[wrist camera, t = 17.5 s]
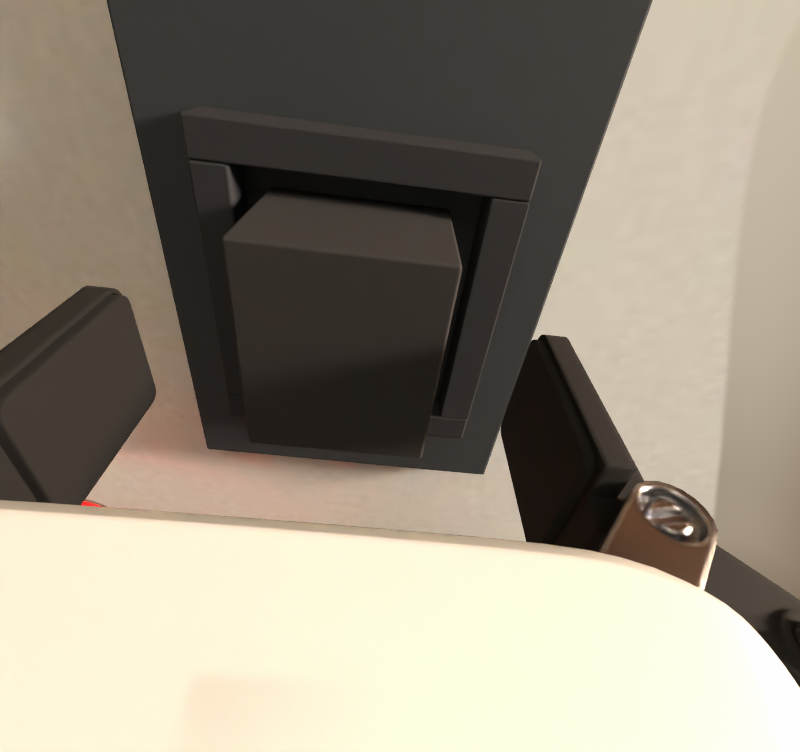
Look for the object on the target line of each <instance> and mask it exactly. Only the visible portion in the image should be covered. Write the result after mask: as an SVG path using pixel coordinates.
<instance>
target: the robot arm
mask: <svg viewBox="0 0 800 752" xmlns="http://www.w3.org/2000/svg"><path fill="white" fill-rule="evenodd" d="M155 395H156V387H155V384H154V380H153V377H152V374H151V370H150V367H149V364H148V361H147V357H146V354H145V351H144V347H143V344H142V341H141V337H140V334H139V331H138V327H137V324H136V321H135V318H134V314H133V311H132V308H131V304H130V302H129V300H128V298H127V297H125V296H122V294H121V293H120V292H119V290H117V289H114V288H105V287H96V286H85V287H83V288H82V289H80V290H79V291H78V292H76V293H75V294H74V295H73V296H71V297H70V298H69V299H67V300H66V301H65V302H63V303H62V304H61V305H59V306H58V307H57V308H55V309H54V310H53V311H52V312H50V313H49V314H48V315H46V316H45V317H44V318H42V319H41V320H40V321H38V322H37V323H36V324H34V325H33V326H32V327H31V328H29V329H28V330H27V331H25V332H24V333H23V334H21V335H20V336H19V337H17V338H16V339H15V340H13V341H12V342H11V343H9V344H8V345H7V346H6V347H4V348H3V349H2V350H0V752H800V600H799V599H798V598H796V597H795V596H793V595H791V594H790V593H789V592H787V591H786V590H784V589H782V588H781V587H779V586H778V585H776V584H775V583H773V582H772V581H770V580H769V579H767V578H766V577H764V576H763V575H761V574H760V573H758V572H757V571H755V570H754V569H752V568H751V567H749V566H748V565H746V564H745V563H743V562H742V561H740V560H739V559H737V558H735V557H734V556H732V555H731V554H729V553H728V552H726V551H725V550H723V549H722V548H720V547H719V546H717V545H716V544H717V541H718V530H717V527H716V525H715V522H714V520H713V518H712V517H711V516H710V514H709V513H708V511H707V510H706V509H705V508H704V507H703V506H702V505H701V504H700V503H699V502H698V501H697V500H696V499H695V498H693V497H692V496H690V495H689V494H687V493H686V492H684V491H683V490H681V489H679V488H676V487H674V486H672V485H670V484H666V483H662V482H659V481H645V482H644V480H643V478H642V476H641V474H640V472H639V470H638V468H637V467H636V465H635V463H634V461H633V459H632V457H631V455H630V454H629V452H628V450H627V448H626V446H625V444H624V442H623V440H622V439H621V437H620V435H619V433H618V431H617V429H616V427H615V426H614V424H613V422H612V420H611V418H610V416H609V414H608V412H607V411H606V409H605V407H604V405H603V403H602V401H601V399H600V398H599V396H598V394H597V392H596V390H595V388H594V386H593V384H592V383H591V381H590V379H589V377H588V375H587V373H586V371H585V370H584V368H583V366H582V364H581V362H580V360H579V358H578V356H577V355H576V353H575V351H574V349H573V347H572V345H571V343H570V342H569V340H568V339H567V338H566V337H560V336H550V335H541V336H540V337H539V338H538V340H532V341H531V342H530V345H529V347H528V350H527V353H526V355H525V358H524V361H523V364H522V366H521V369H520V372H519V375H518V378H517V380H516V383H515V386H514V389H513V391H512V394H511V397H510V400H509V403H508V405H507V408H506V411H505V414H504V416H503V419H502V423H501V436H502V440H503V444H504V449H505V453H506V457H507V461H508V466H509V470H510V474H511V478H512V482H513V487H514V491H515V495H516V499H517V504H518V508H519V512H520V516H521V521H522V525H523V529H524V533H525V538H526V542H522V541H512V540H502V539H492V538H482V537H472V536H461V535H449V534H437V533H425V532H413V531H401V530H389V529H378V528H366V527H354V526H342V525H329V524H317V523H304V522H292V521H279V520H267V519H254V518H241V517H228V516H216V515H203V514H190V513H177V512H164V511H150V510H136V509H123V508H109V507H96V506H82V505H81V504H82V503H83V501H84V500H85V498H86V497H87V496H88V494H89V493H90V491H91V490H92V488H93V487H94V486H95V484H96V483H97V481H98V480H99V478H100V477H101V476H102V474H103V473H104V471H105V470H106V469H107V467H108V466H109V464H110V463H111V461H112V460H113V459H114V457H115V456H116V454H117V453H118V451H119V450H120V449H121V447H122V446H123V444H124V443H125V442H126V440H127V439H128V437H129V436H130V434H131V433H132V432H133V430H134V429H135V427H136V426H137V425H138V423H139V422H140V420H141V419H142V417H143V416H144V415H145V413H146V412H147V410H148V409H149V407H150V406H151V405H152V403H153V401H154V399H155Z"/></svg>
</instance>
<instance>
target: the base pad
mask: <svg viewBox="0 0 800 752" xmlns="http://www.w3.org/2000/svg"><path fill="white" fill-rule="evenodd" d="M652 1H653V0H107V5H108V9H109V13H110V18H111V22H112V27H113V31H114V36H115V40H116V44H117V49H118V53H119V58H120V62H121V67H122V71H123V76H124V80H125V84H126V89H127V93H128V98H129V102H130V107H131V111H132V115H133V120H134V124H135V129H136V133H137V138H138V142H139V146H140V151H141V155H142V160H143V164H144V169H145V173H146V177H147V182H148V186H149V191H150V195H151V200H152V204H153V208H154V213H155V217H156V222H157V226H158V231H159V235H160V239H161V244H162V248H163V253H164V257H165V262H166V266H167V270H168V275H169V279H170V284H171V288H172V293H173V297H174V302H175V306H176V310H177V315H178V319H179V324H180V328H181V333H182V337H183V341H184V346H185V350H186V355H187V359H188V364H189V368H190V372H191V377H192V381H193V386H194V390H195V395H196V399H197V403H198V408H199V412H200V417H201V421H202V426H203V430H204V434H205V439H206V443H207V448H208V449H216V450H226V451H237V452H248V453H259V454H269V455H280V456H291V457H301V458H312V459H323V460H334V461H344V462H355V463H366V464H377V465H387V466H398V467H409V468H420V469H430V470H441V471H452V472H462V473H473V474H484V472H485V469H486V466H487V463H488V461H489V458H490V455H491V452H492V449H493V447H494V444H495V441H496V438H497V435H498V433H499V430H500V427H501V423H502V419H503V416H504V414H505V411H506V408H507V405H508V403H509V400H510V397H511V394H512V391H513V389H514V386H515V383H516V380H517V378H518V375H519V372H520V369H521V366H522V364H523V361H524V358H525V355H526V353H527V350H528V347H529V345H530V342H531V340H532V337H533V334H534V332H535V329H536V326H537V323H538V320H539V318H540V315H541V312H542V309H543V306H544V304H545V301H546V298H547V295H548V292H549V290H550V287H551V284H552V281H553V278H554V276H555V273H556V270H557V267H558V264H559V261H560V259H561V256H562V253H563V250H564V247H565V245H566V242H567V239H568V236H569V233H570V231H571V228H572V225H573V222H574V219H575V217H576V214H577V211H578V208H579V205H580V203H581V200H582V197H583V194H584V191H585V189H586V186H587V183H588V180H589V177H590V175H591V172H592V169H593V166H594V163H595V160H596V158H597V155H598V152H599V149H600V146H601V144H602V141H603V138H604V135H605V132H606V130H607V127H608V124H609V121H610V118H611V116H612V113H613V110H614V107H615V104H616V102H617V99H618V96H619V93H620V90H621V88H622V85H623V82H624V79H625V76H626V74H627V71H628V68H629V65H630V62H631V59H632V57H633V54H634V51H635V48H636V45H637V43H638V40H639V37H640V34H641V31H642V29H643V26H644V23H645V20H646V17H647V15H648V12H649V9H650V6H651V3H652ZM272 187H276V188H284V189H292V190H299V191H307V192H315V193H323V194H331V195H339V196H347V197H355V198H363V199H371V200H379V201H387V202H395V203H403V204H411V205H419V206H426V207H434V208H442V209H448V210H449V212H450V216H451V220H452V225H453V229H454V233H455V237H456V242H457V246H458V250H459V255H460V259H461V263H462V268H463V269H462V274H461V278H460V283H459V287H458V292H457V297H456V301H455V306H454V311H453V315H452V320H451V325H450V329H449V334H448V338H447V343H446V348H445V352H444V357H443V362H442V366H441V371H440V376H439V380H438V385H437V389H436V394H435V399H434V403H433V408H432V413H431V417H430V422H429V427H428V431H427V436H426V440H425V445H424V450H423V454H422V457H421V458H409V457H398V456H388V455H377V454H366V453H356V452H345V451H335V450H324V449H314V448H303V447H292V446H282V445H271V444H261V443H251V442H250V441H249V436H248V429H247V422H246V415H245V408H244V400H243V393H242V386H241V379H240V371H239V364H238V357H237V350H236V343H235V335H234V328H233V321H232V314H231V307H230V299H229V292H228V285H227V278H226V271H225V263H224V256H223V249H222V242H221V239H222V236H223V235H224V234H225V233H226V232H227V231H228V230H229V229H230V228H231V227H232V226H233V225H234V224H235V223H236V222H237V221H238V220H239V219H240V218H241V217H242V216H243V215H244V214H245V213H246V212H247V211H248V210H249V209H250V208H251V207H252V206H253V205H254V204H255V203H256V202H257V201H258V200H259V199H260V198H261V197H262V196H263V195H264V194H265V193H266V192H267V191H268V190H269V189H270V188H272Z"/></svg>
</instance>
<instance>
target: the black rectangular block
mask: <svg viewBox="0 0 800 752" xmlns="http://www.w3.org/2000/svg"><path fill="white" fill-rule="evenodd" d="M221 242H222V249H223V256H224V263H225V271H226V278H227V285H228V292H229V299H230V307H231V314H232V321H233V328H234V335H235V343H236V350H237V357H238V364H239V371H240V379H241V386H242V393H243V400H244V408H245V415H246V422H247V429H248V436H249V441H250V442H251V443H261V444H271V445H282V446H292V447H303V448H314V449H324V450H335V451H345V452H356V453H366V454H377V455H388V456H398V457H409V458H421V457H422V454H423V450H424V445H425V440H426V436H427V431H428V427H429V422H430V417H431V413H432V408H433V403H434V399H435V394H436V389H437V385H438V380H439V376H440V371H441V366H442V362H443V357H444V352H445V348H446V343H447V338H448V334H449V329H450V325H451V320H452V315H453V311H454V306H455V301H456V297H457V292H458V287H459V283H460V278H461V274H462V269H463V268H462V263H461V259H460V255H459V250H458V246H457V242H456V237H455V233H454V229H453V225H452V220H451V216H450V212H449V210H448V209H442V208H434V207H426V206H419V205H411V204H403V203H395V202H387V201H379V200H371V199H363V198H355V197H347V196H339V195H331V194H323V193H315V192H307V191H299V190H292V189H284V188H276V187H272V188H270V189H269V190H268V191H267V192H266V193H265V194H264V195H263V196H262V197H261V198H260V199H259V200H258V201H257V202H256V203H255V204H254V205H253V206H252V207H251V208H250V209H249V210H248V211H247V212H246V213H245V214H244V215H243V216H242V217H241V218H240V219H239V220H238V221H237V222H236V223H235V224H234V225H233V226H232V227H231V228H230V229H229V230H228V231H227V232H226V233H225V234H224V235H223V236H222V239H221Z"/></svg>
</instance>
